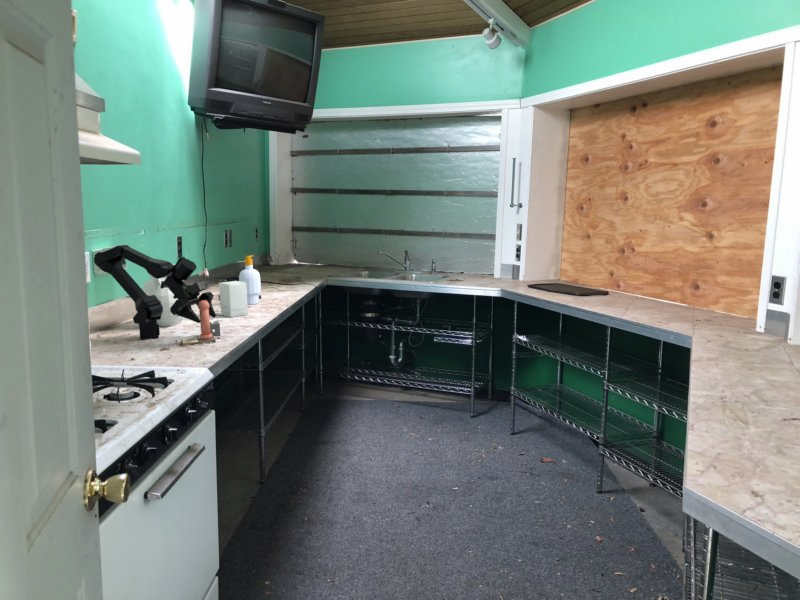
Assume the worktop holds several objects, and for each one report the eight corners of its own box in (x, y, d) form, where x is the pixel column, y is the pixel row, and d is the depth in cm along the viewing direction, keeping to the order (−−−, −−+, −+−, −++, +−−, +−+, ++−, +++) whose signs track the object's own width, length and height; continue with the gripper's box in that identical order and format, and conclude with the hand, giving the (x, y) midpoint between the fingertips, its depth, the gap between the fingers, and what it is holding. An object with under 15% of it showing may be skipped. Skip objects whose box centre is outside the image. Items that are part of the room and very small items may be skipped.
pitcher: (182, 328, 220) (176, 267, 215) (136, 329, 220) (130, 268, 215) (198, 319, 238) (194, 262, 234) (156, 319, 238) (151, 263, 234)
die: (206, 338, 203) (205, 323, 202) (205, 335, 208) (204, 321, 207) (220, 336, 206) (219, 322, 205) (218, 333, 211) (217, 319, 210)
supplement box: (249, 314, 246) (246, 282, 244) (231, 317, 240) (228, 284, 237) (238, 312, 252) (236, 280, 250) (220, 315, 246) (218, 282, 243)
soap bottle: (266, 302, 275) (263, 255, 271) (250, 306, 266) (247, 257, 262) (251, 301, 280) (248, 254, 276) (236, 304, 272) (233, 256, 268)
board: (182, 346, 192) (182, 343, 192) (181, 341, 199) (180, 338, 198) (215, 342, 197) (215, 339, 196) (213, 338, 203) (212, 335, 203)
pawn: (200, 340, 196) (197, 301, 193) (199, 337, 200) (196, 299, 197) (213, 338, 198) (210, 300, 195) (211, 336, 201) (208, 298, 199)
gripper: (174, 277, 187) (204, 309, 186) (207, 270, 204) (235, 300, 203) (157, 298, 190) (186, 330, 189) (191, 290, 208) (218, 319, 207)
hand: (207, 319), depth 197 cm, fingers open, 9 cm apart
